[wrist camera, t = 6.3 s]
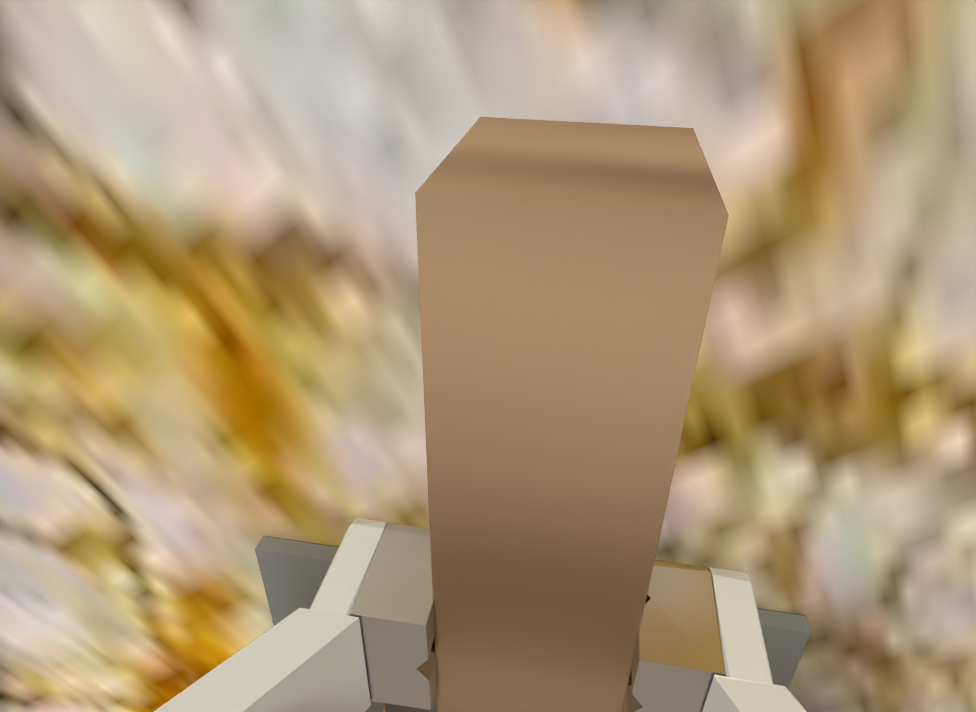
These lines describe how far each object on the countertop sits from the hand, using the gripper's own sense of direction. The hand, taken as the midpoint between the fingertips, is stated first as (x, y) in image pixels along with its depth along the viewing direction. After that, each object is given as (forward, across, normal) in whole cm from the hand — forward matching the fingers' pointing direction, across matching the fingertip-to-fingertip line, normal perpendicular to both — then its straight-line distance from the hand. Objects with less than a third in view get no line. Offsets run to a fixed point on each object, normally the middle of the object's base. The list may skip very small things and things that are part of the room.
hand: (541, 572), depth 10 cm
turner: (+2, 0, +2) cm, 2 cm away
